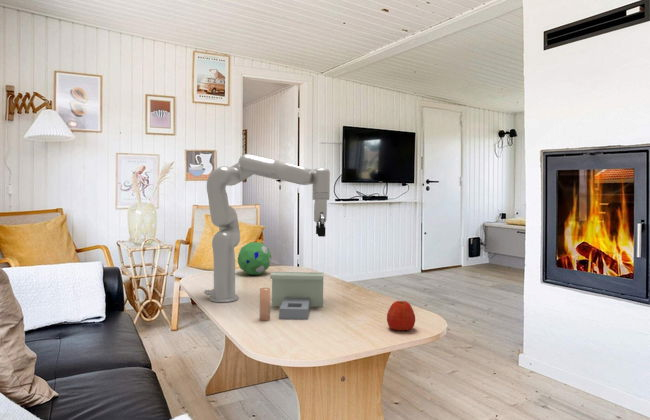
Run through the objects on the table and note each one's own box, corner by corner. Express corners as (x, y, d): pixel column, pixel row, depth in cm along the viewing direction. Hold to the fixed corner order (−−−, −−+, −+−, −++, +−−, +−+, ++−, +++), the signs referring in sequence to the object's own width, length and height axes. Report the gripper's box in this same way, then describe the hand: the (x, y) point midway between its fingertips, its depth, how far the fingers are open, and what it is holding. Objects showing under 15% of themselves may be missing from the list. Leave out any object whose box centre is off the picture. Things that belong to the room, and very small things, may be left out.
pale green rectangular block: (270, 309, 183) (270, 275, 182) (272, 305, 190) (272, 271, 189) (322, 310, 182) (323, 275, 182) (323, 305, 189) (323, 272, 188)
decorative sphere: (266, 285, 254) (250, 270, 239) (241, 274, 264) (224, 259, 249) (282, 257, 261) (268, 241, 246) (258, 248, 271) (242, 232, 256)
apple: (396, 335, 153) (396, 305, 152) (381, 326, 162) (381, 298, 162) (420, 331, 157) (421, 302, 156) (404, 323, 166) (404, 296, 166)
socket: (279, 318, 170) (279, 308, 170) (284, 306, 187) (284, 297, 187) (307, 319, 170) (307, 309, 169) (310, 307, 187) (310, 297, 187)
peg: (258, 320, 167) (258, 289, 166) (260, 317, 171) (260, 287, 170) (269, 321, 167) (269, 290, 166) (270, 318, 171) (270, 287, 170)
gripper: (311, 196, 201) (310, 233, 202) (314, 197, 184) (313, 237, 185) (327, 196, 202) (326, 233, 203) (331, 197, 185) (331, 237, 185)
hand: (320, 235), depth 194 cm, fingers open, 9 cm apart
